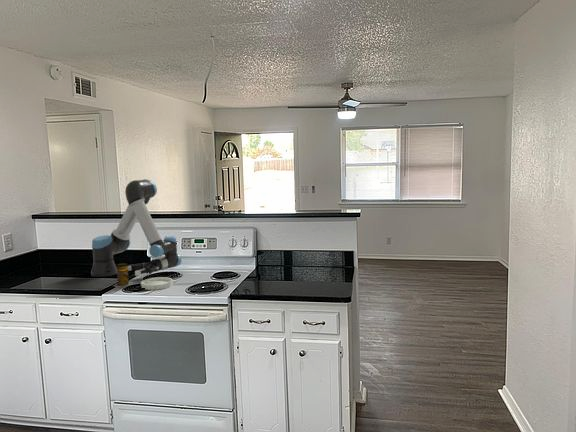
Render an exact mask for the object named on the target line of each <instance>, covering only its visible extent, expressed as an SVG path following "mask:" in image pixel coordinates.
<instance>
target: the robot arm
mask: <svg viewBox="0 0 576 432" xmlns="http://www.w3.org/2000/svg"><path fill="white" fill-rule="evenodd" d="M157 189H158V188H157V185H156V183H155V182H154V181H153V180H150V179H146V178H145V179H137V180H132V181H129V182H128V183H127V185H126V187H125V191H124V192H125V193H124V194H125V198H126V200H127V204H128V205H127V207H126V209H125V211H124V213H123V215H122V217H121V219H120V222H119V224H118V225H117V227H116V229H113V230H112V232H111V234H110V235H107V234H105V235H99V236H96V237H94V238H93V239H92V242H91V244H92V245H91V248H92V250H91V251H92V258H93V260H92V261H93V263H92V267H91V271H90V275H91V277H94V278H102V277H110V276H114V275H117V269H118V268H117V265H116V263H115V260H114V255H116V254H120V253H124V252H125V251H127V250H128V249H129V247H130V246H131V235H130V234H131V232H132V230H133V228H134V226H135V224H136V222H137V220H138V223H139V225H140V228H141V229H142V231H143V233H144V236H145V237H146V240H147V242H148V244H149V246H150V247H149V249H148V250H149V254H150V256H151V257H153V258H155V259H152V260H150V262H142V263H134V264H129V265H127V268H128V272H130V271H132V270H133V271H134V276H136V277H137V276H139V275H144V274H145V275H146V274H153V273H155V272H159V271H162V272H163V271H164V270H168V269H171V268H176V267H178V266H180V265H181V264H182V258H181V255H180V254H178V245H177V244H178V243H177V237H176V236H173V235H172V236H171V235H170V236H165V237H164V238H163V240H162V237H161V236H160V233H159V231H158V229H157V227H156V224H155V222H154V220H153V217H152V216H151V214H150V212H149V209H148V207H147V204H149V202H150V200H151V199H152V198H153V197H155V196H156V195H157V191H158V190H157Z"/></svg>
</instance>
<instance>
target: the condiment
mask: <svg viewBox="0 0 576 432" xmlns="http://www.w3.org/2000/svg"><path fill="white" fill-rule="evenodd" d="M127 266H128V263H126V262H125V263H123V262H122V263H118V264H117V265H116V268H117V274H116V276H117V283H114V284H115V285H113V286H114V287H115V288H119V287H126V286H131V285H132V284H130V278H129V277H130V276H129V275H130V274H129V271H128V268H127Z"/></svg>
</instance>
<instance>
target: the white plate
mask: <svg viewBox="0 0 576 432" xmlns="http://www.w3.org/2000/svg"><path fill="white" fill-rule="evenodd" d="M141 286H142V287H141ZM172 286H174V280H173V278H171V277H167V276H164V277H163V276H157V277H149V278H146V279H143V280H141V281H140V287H141V289H142V288H145V289H144V290H148V291H150V290H151V291H153V290H155V291H156V290H163V289H168V288H171V287H172Z"/></svg>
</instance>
